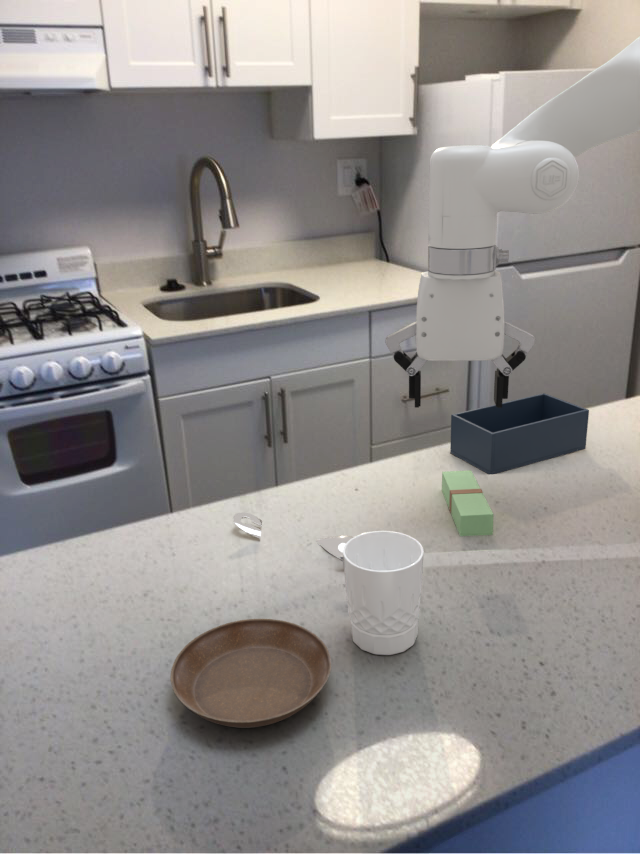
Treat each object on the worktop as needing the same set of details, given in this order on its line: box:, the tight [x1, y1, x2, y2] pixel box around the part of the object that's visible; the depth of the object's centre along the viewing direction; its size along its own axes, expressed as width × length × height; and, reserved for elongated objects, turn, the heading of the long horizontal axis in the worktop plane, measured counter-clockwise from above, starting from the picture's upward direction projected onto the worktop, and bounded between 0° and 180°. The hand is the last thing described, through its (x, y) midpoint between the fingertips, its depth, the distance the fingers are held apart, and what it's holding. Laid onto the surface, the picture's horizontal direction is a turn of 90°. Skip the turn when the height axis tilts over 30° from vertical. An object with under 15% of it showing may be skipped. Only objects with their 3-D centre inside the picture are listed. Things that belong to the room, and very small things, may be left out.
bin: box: [449, 392, 590, 475], centre depth 119 cm, size 19×10×7 cm, turn 117°
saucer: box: [169, 618, 332, 729], centre depth 70 cm, size 15×15×3 cm
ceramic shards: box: [233, 511, 354, 562], centre depth 95 cm, size 20×4×5 cm
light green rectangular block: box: [441, 469, 495, 537], centre depth 98 cm, size 4×13×5 cm, turn 1°
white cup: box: [342, 530, 425, 656], centre depth 76 cm, size 8×8×10 cm
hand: (457, 404), depth 92 cm, fingers open, 9 cm apart
